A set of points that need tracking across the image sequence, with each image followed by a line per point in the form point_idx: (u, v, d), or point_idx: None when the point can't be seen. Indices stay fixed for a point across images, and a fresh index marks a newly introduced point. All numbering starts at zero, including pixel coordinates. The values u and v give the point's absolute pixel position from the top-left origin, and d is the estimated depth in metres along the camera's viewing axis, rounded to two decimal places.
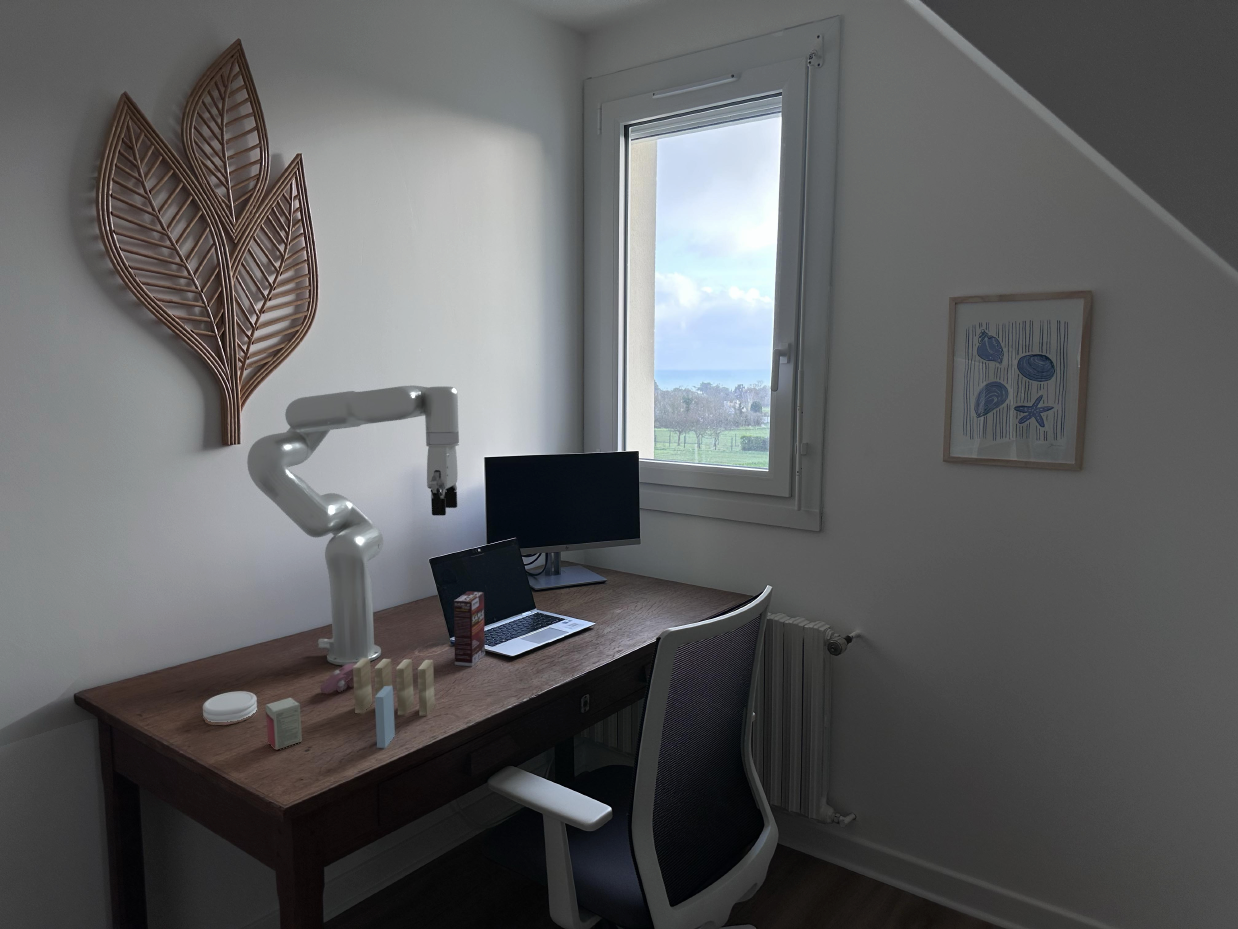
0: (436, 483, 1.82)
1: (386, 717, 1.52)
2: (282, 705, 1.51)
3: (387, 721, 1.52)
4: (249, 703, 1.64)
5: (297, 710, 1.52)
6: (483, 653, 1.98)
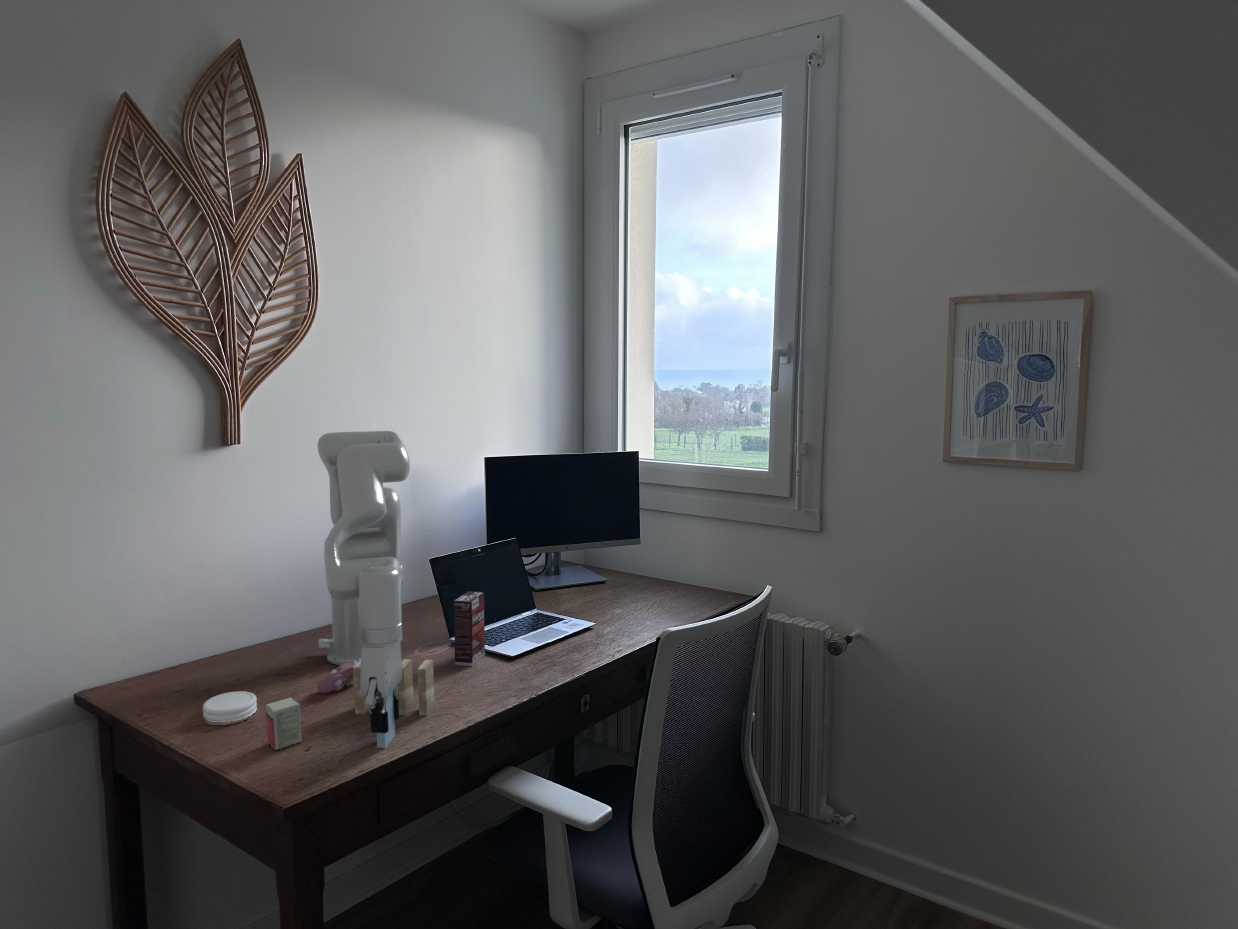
0: (373, 702, 1.46)
1: None
2: (282, 705, 1.51)
3: (388, 721, 1.52)
4: (249, 703, 1.64)
5: (297, 710, 1.52)
6: (483, 653, 1.98)
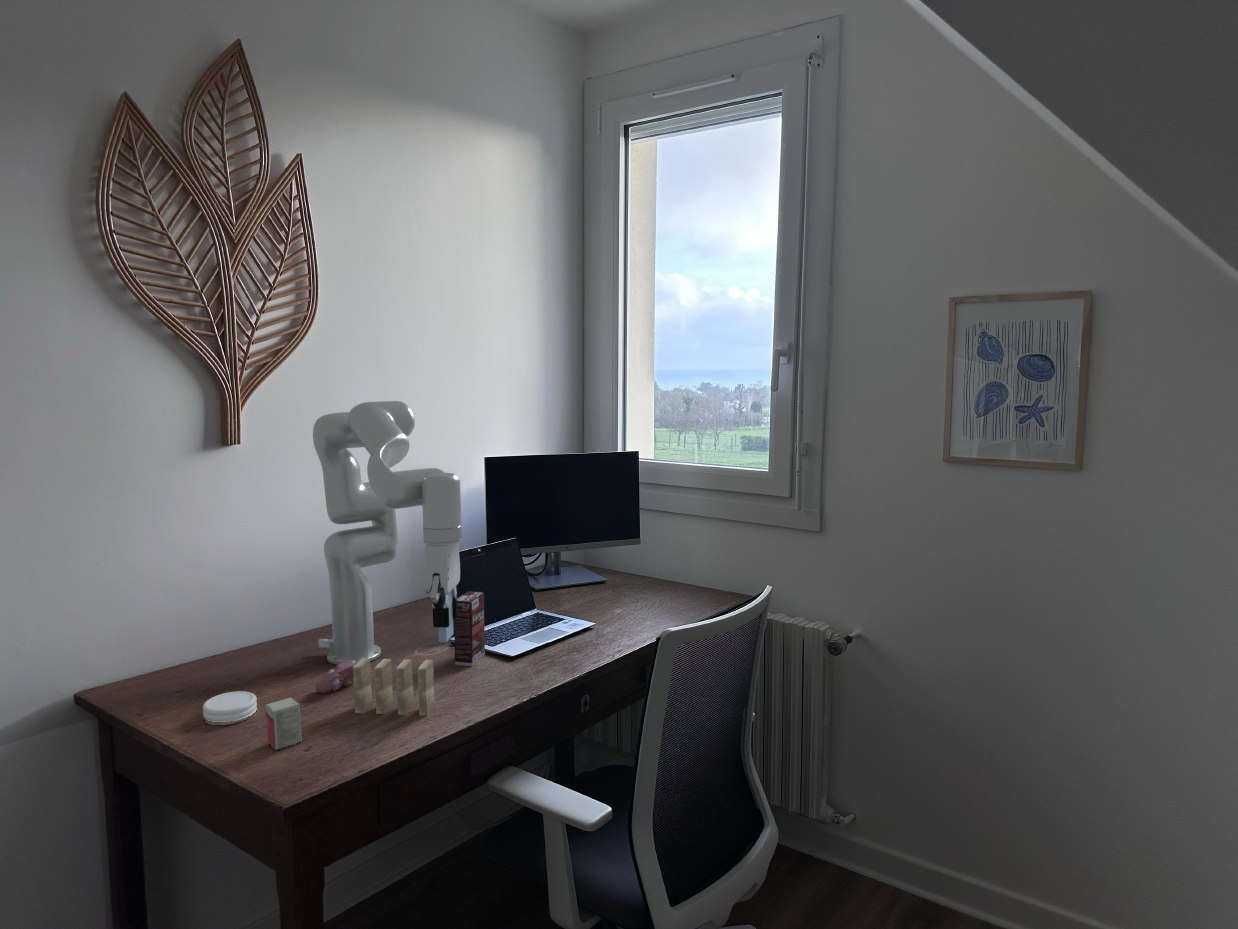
0: (437, 596, 1.57)
1: None
2: (282, 705, 1.51)
3: None
4: (249, 703, 1.64)
5: (297, 710, 1.52)
6: (483, 653, 1.98)
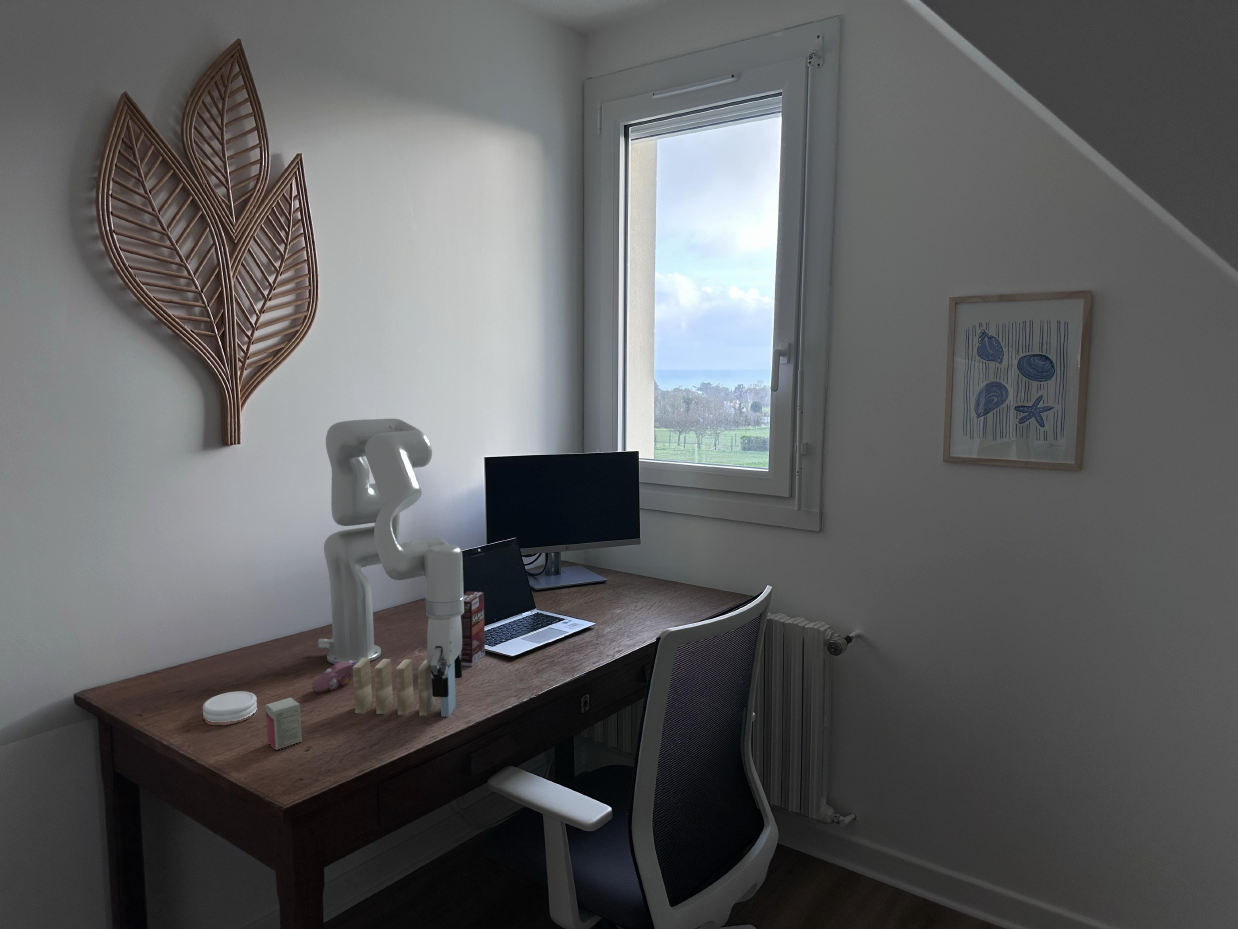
0: (437, 664, 1.57)
1: (450, 688, 1.65)
2: (282, 705, 1.51)
3: (450, 692, 1.65)
4: (249, 703, 1.64)
5: (297, 710, 1.52)
6: (483, 653, 1.98)
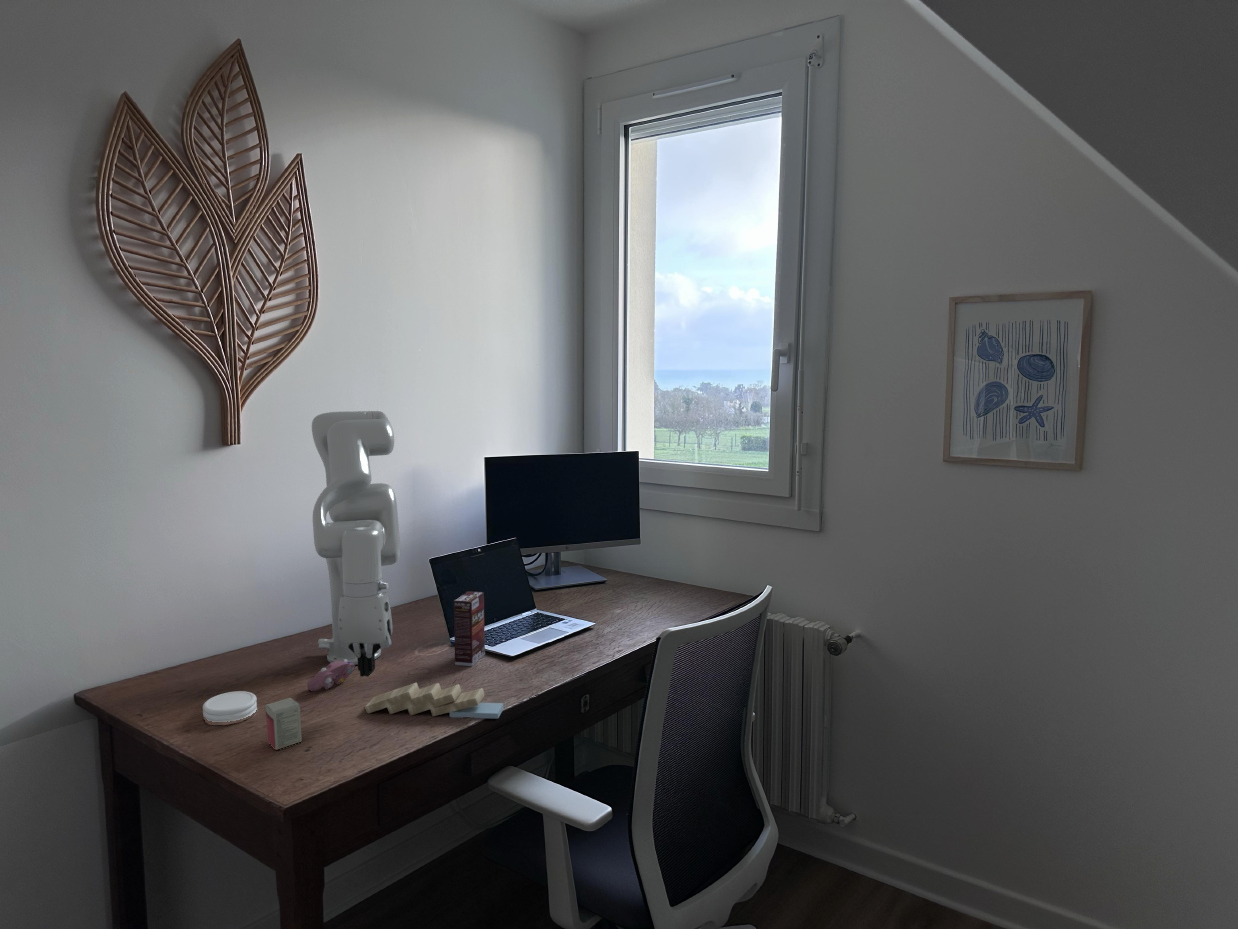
0: (342, 643, 1.66)
1: None
2: (282, 705, 1.52)
3: None
4: (249, 703, 1.64)
5: (297, 710, 1.52)
6: (483, 653, 1.98)
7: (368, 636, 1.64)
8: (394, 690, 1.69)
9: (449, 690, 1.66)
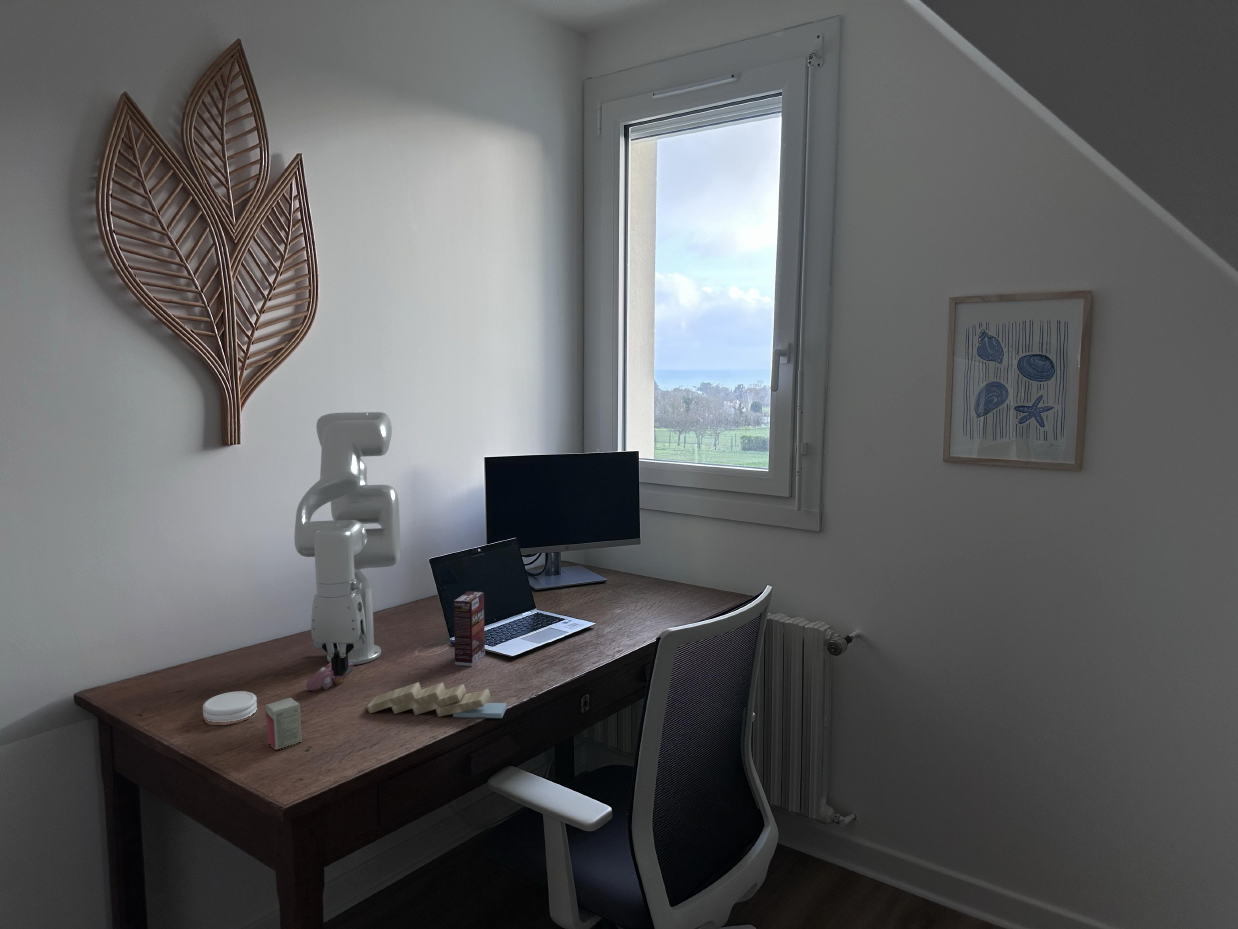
0: (315, 643, 1.67)
1: None
2: (282, 705, 1.52)
3: None
4: (249, 703, 1.64)
5: (297, 710, 1.52)
6: (483, 653, 1.98)
7: (341, 636, 1.64)
8: (396, 690, 1.70)
9: (454, 690, 1.67)
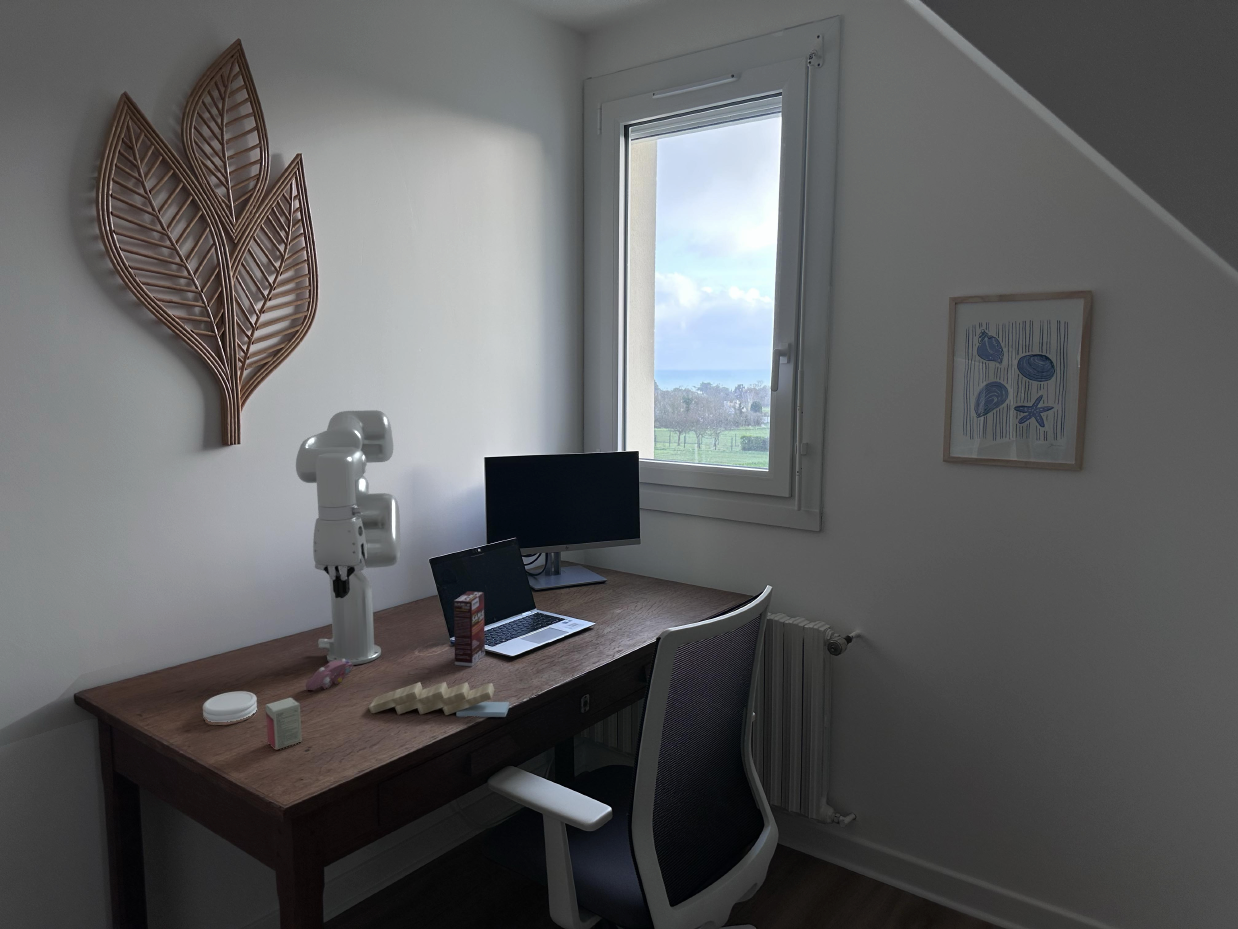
0: (318, 566, 1.71)
1: None
2: (282, 705, 1.52)
3: None
4: (249, 703, 1.64)
5: (297, 710, 1.52)
6: (483, 653, 1.98)
7: (342, 559, 1.68)
8: (397, 690, 1.70)
9: (459, 688, 1.68)
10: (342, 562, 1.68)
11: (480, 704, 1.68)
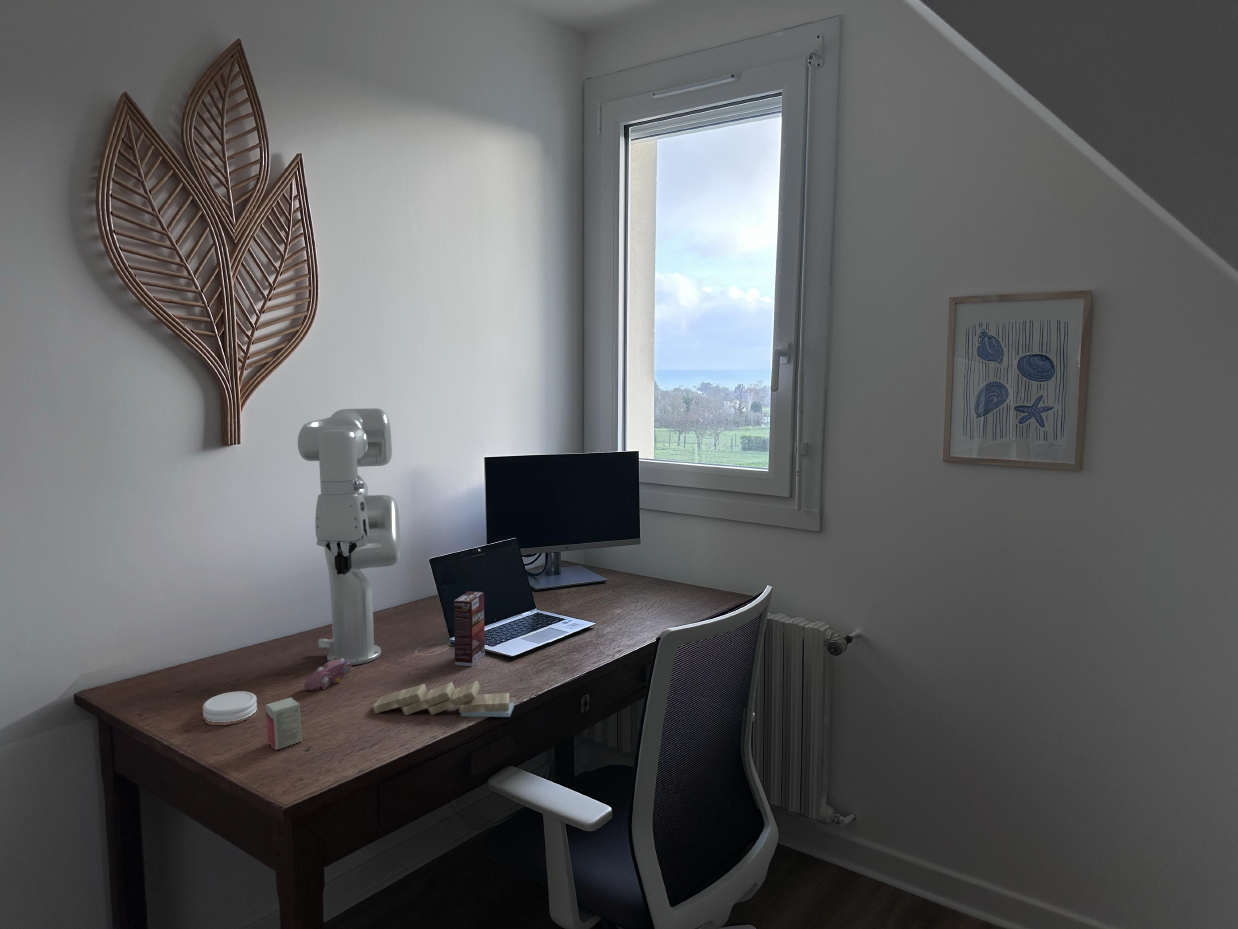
0: (320, 542, 1.71)
1: None
2: (282, 705, 1.52)
3: None
4: (249, 703, 1.64)
5: (297, 710, 1.52)
6: (483, 653, 1.98)
7: (344, 534, 1.69)
8: (401, 691, 1.70)
9: (468, 687, 1.66)
10: (344, 537, 1.69)
11: None
